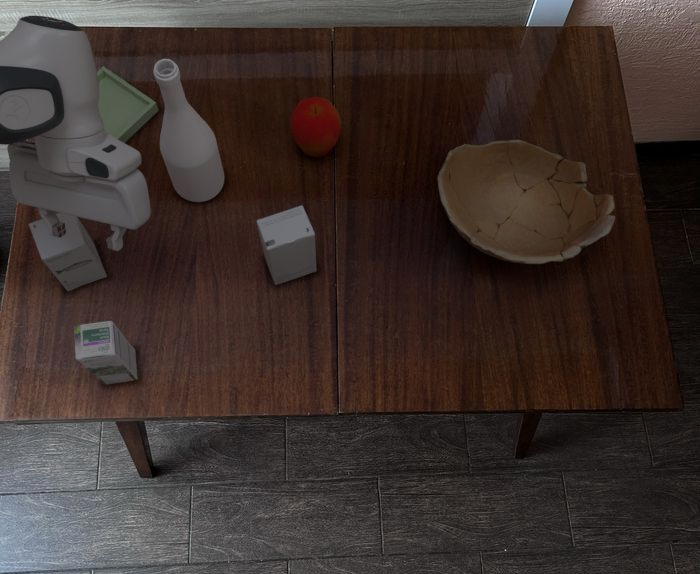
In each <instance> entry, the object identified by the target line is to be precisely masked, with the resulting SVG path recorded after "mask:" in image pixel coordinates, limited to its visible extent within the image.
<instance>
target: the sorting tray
mask: <svg viewBox="0 0 700 574" xmlns="http://www.w3.org/2000/svg"><path fill="white" fill-rule="evenodd" d="M96 71H97V77H98V84H99V92H100V94H99V101H98V108H99V113H100V116H101V118H102V120H103V124H104V130H105V132H107V133H109V134H110V135H112V136H113V137H115V138H116V139H118V140H120V141H121V142H123V143H125V144H126V143H127V142H128V141H129V140H130V138H132V137H133V136H134V135H135V134H137V132H138V131H139V130H140V129H141V128H142V127H143V126H144V125H145V124H147V122H148V121H150V120H151V118H153V117H154V116H155V115H156V114H157V113H158V112H159V111H160V110H159V107H158V104H157V102H156V101H155V100H153V99H151V97H149V96H147V95H146V94H145V93H143V92H142V91H140V90H139V89H137V88H135V86H133V85H132V84H130V83H129V82H127V81H125V80H124V79H123V78H122V77H120V76H119V75H117V74H116V73H114V72H112V70H110V69H109V68H107V67H105V66H104V65H102V67H100V68H99V69H98V70H96Z"/></svg>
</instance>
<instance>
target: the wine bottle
mask: <svg viewBox="0 0 700 574" xmlns="http://www.w3.org/2000/svg"><path fill="white" fill-rule="evenodd" d="M152 72H153V76H154V79H155V81H156V83H157V85H158V87H159V90H160V93H161V97H162V101H163V105H164V111H163V112H164V113H163V118H162V123H161V130H160V134H159V150H160V154H161V157H162V159H163V162H164V165H165V168H166V170H167V173H168V176H169V177H170V178H169V179H170V181H171V184H172V187H173V189H174V191H175V192H176V193H177V195H179V196H180V197H181V198H183V200H186V201H189V202H193V203H204V202H207V201H210V200H212V199H214V198H215V197H216V196H218V195H219V193H220V192H221V191H222V189H223V187H224V185H225V171H224V167H223V163H222V158H221V154H220V151H219V150H220V149H219V146H218V142H217V138H216V135H215V132H214V131H213V129H212V128H211V127H210V126H209V124H208V123H207V122H206V120H204V119H203V118H202V117H201V116H200V114H199V113H198V111H196V109H194V108H193V106H191V104H190V103H189V101H188V100H187V98H186V95H185V90H184V88H183V85H182V81H181V72H180V69H179V66H178V64H177V63H176V62H175V61H173V60H172V59H169V58H162V59H159V60H158V61H156V63H154V67H153V71H152Z"/></svg>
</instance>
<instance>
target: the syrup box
mask: <svg viewBox="0 0 700 574" xmlns="http://www.w3.org/2000/svg"><path fill="white" fill-rule="evenodd" d="M73 328H74V329H73V331H74V332H73V333H74V334H73V335H74V353H75V360H76V361H77V362H78V363H79V364H80V365H81V366H83V367H84V368H85V369H86V370H87V371H88V372H89V373H90V374H91V375H93V376H94V377H95V378H96V379H97V380H98V381H99V382H100V383H101V384H102V385H104V386H107V385H114V384H121V383H128V382H135V381H138V369H137V354H136V349H135V348H134V346H133V345H131V343H130V342H129V340H128V339H127V338H126V336H125V335H124V334H123V332H122V331H121V330H120V329H119V327H117V325H116V324H115V322H113V321H112V320H105V321H98V322H90V323H82V324H75V325H73Z"/></svg>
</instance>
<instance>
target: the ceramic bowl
mask: <svg viewBox="0 0 700 574" xmlns="http://www.w3.org/2000/svg"><path fill="white" fill-rule="evenodd" d="M436 179H437V186H438V192H439V193H438V194H439V199H440V201H441V205H442V207H443V209H444V212H445V214H446V216H447V217H448V219H449V222H450V224H451V225H452V226H453V227H454V229H455V231H457V233H458V234H459V235H460V236H461V237H462V238H463V239H464V240H465V241H466V242H467V243H468V244H470V246H472V247H473V248H475V249H477V250H478V251H480V252H481V253H483V254H486V255H488V256H490V257H493V258H496V259H499V260H502V261H504V262H510V263H512V264H514V263H515V264H522V265H525V264H527V265H544V264H549V263H552V262H564V261H565V260H568V259H572V258H574V257H576V256H578V255H579V254H580V253H581V252H582V249H583V248H586V247H588V246H590V245H592V244H594V243H596V242H597V241H598V240H600V239H601V238H605V237H606V236H608V235H609V234H610V232H611V231H612V229H613V226H614V223H615V222H616V216H615V215H611V214H612V212H613V211H614V210H615V209H616V204H615V199H614V195H611V194H608V193H601V194H595V195H594V194H593V193H591V192H589V191H588V190H587V183H586V182H588V175H587V164H586V163H584V162H583V161H574V160H569V159H567V158H564V156H562V155H560V154H557V153H553V152H551V151H548V150H546V149H544V148H543V147H541V146H539V145H535V144H531V143H529V142H527V141H524V140H522V139H509V140H496V141H495V140H494V141H490V142H488V143H486V144H482V145H479V144H467V143H463V144H461V145H460V146H456V147H455V148H454V149H451V150H449V151H448V152H447V155H446V158H445V160H444V162H443V164H442V166H441V167H440V170H439V172H438V175H437V177H436Z"/></svg>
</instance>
